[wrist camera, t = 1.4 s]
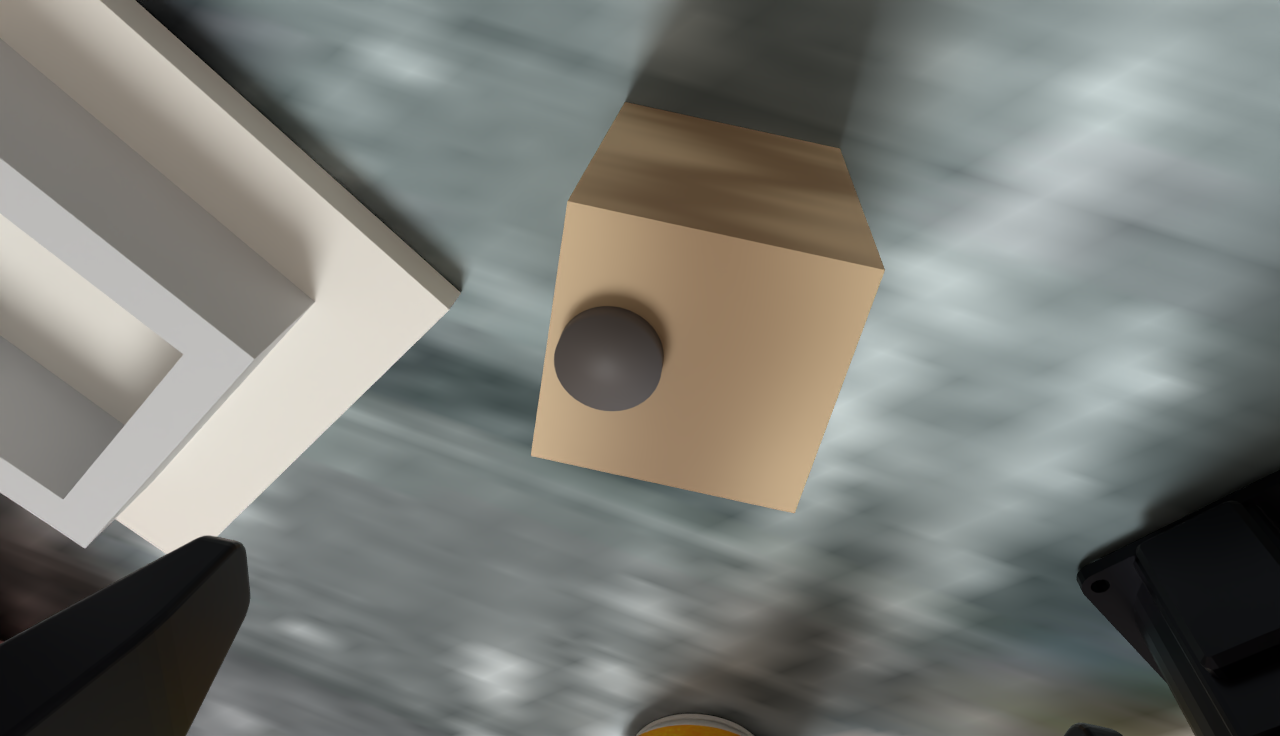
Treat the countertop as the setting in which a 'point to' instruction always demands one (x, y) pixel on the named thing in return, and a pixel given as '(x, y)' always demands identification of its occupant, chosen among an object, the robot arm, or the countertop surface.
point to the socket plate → (172, 282)
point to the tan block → (704, 307)
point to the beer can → (693, 726)
